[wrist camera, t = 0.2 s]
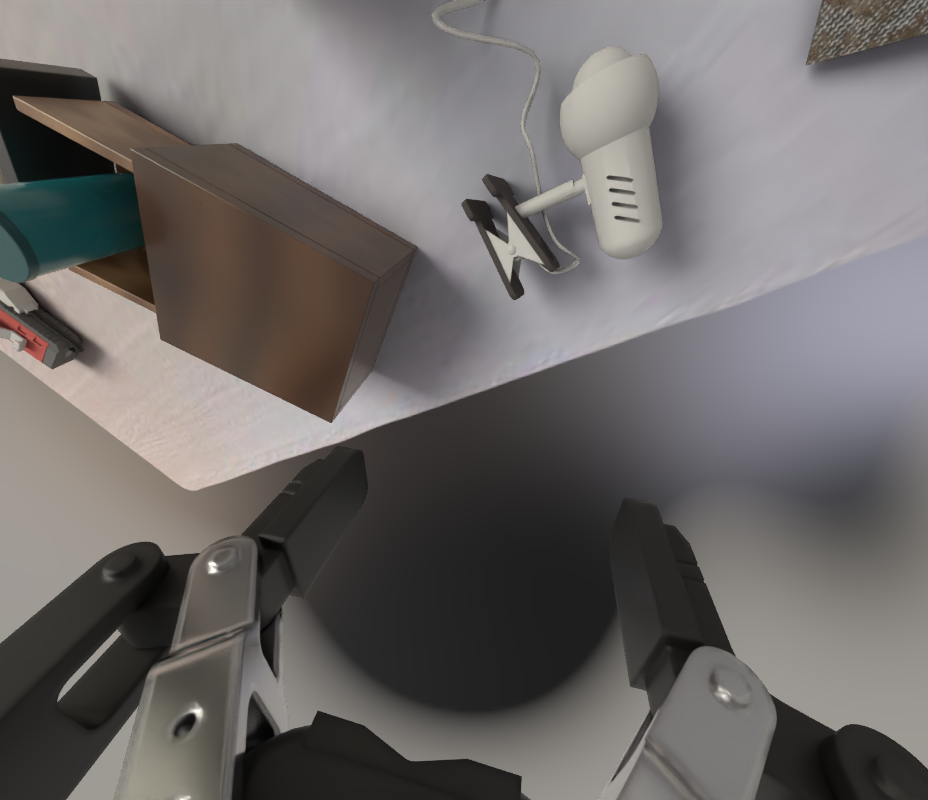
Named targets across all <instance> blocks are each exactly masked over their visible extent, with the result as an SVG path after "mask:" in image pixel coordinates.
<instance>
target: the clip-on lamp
mask: <svg viewBox="0 0 928 800" xmlns="http://www.w3.org/2000/svg"><path fill="white" fill-rule="evenodd" d="M483 1H485V0H456V1H452V2H449V3H445V4H443V5H441V6H439V7H436V8H435V10H434V12H433V13H432V18H433V21H434V23H435V25H436V26H437V27H439V28H440V29H441V30H443V31H444V32H446V33H449V34H451V35H454V36H456V37H459V38H463V39H468V40H473V41H477V42H483V43H489V44H495V45H500V46H505V47H509V48H514V49H517V50H519V51H522V52H524V53H527V54H529V55H530V56H531V58H532V59H533V60H534V61H535V63H536V72H537V73H536V77H535V82H534V85H533V88H532V90H531V93H530V96H529V98H528V101H527V103H526V106H525V108H524V111H523V115H522V119H521V130H522V135H523V137H524V139H525V141H526V143H527V146H528V148H529V151H530V155H531V159H532V164H533V170H534V177H535V183H536V189H537V193H538V196H536V197H534V198H532V199H530V200H528V201H526V202H523V203H521V204H518V203H517V202H516V200H515V199H514V197H513V196H514V193H513V192H512V190H511V188H510V187H509V185H508V184H507V182H506V181H505V180H504V179H501V178H498V177H495V176H492V175H489V174H487V175H486V176H485V177H484V178H483V179H482V180H483V182H484V184H485V185H486V187H487V189H488V190H489V192H490V193H491V195H492V196H494V197H497V199H498V200H499V201H500V203H501V204H502V206H503V207H504V209H505V210H506V211H507V217H508V233H509V237H508V236H507V235H505V234H504V233H502V232H500V231H499V230H497V229H496V227H495V225H494V223H493V221H492V218H493V214H492V212H491V210H490V208H489V206H488V204H487V203H486V202H485V201H479V200H471V199H466V200H465V201H464V202H462V203H461V204H462V207H463V209H464V211H465V213H466V215H467V217H468V218H469V219H470V221H475V223H476V225H477V227H478V230H479V232H480V234H481V236H482V238H483V240H484V242H485V245H486V247H487V249H488V251H489V253H490V255H491V257H492V259H493V262H494V264H495V266H496V268H497V270H498V272H499V274H500V276H501V279H502V281H503V283H504V285H505V287H506V289H507V291H508V293H509V295H510V297H511V298H512V299H513V300H516V299H518V298H520V297H521V296H522V295H524V289H523V286H522V284H521V282H520V280H519V272H520V265H521V259H523V258H527V259H530V260H533V261H535V262H536V263H537V264H538V265H539V266H540V267H541V268H542V269H543V270H545V271H546V272H548V273H551V274H560V273H564V272H567V271H569V270H571V269H573V268H575V267H576V266H577V265H578V264H579V263H580V259H579V257H578V256H577V255H575V254H574V253H572V252H571V251H569V250H568V249H566V248H565V247H563V246H562V245H561V244H560V243H559V242H558V240H557V239H556V237H555V236H554V234H553V231H552V229H551V226H550V224H549V221H548V218H547V214H546V211H545V209H547V208H549V207H551V206H554V205H556V204H558V203H561V202H563V201H565V200H567V199H571V198H573V197H575V196H577V195H580V194H582V193H584V192H585V193H586V197H587V202H588V205H591V209H592V214H593V218H594V223H595V227H596V231H597V236H598V240H599V245H600V248H601V249H602V250H603V251H604V252H605V253H606V254H608V255H609V256H611V257H614V258H617V259H630V258H634V257H636V256H639V255H641V254H642V253H644V252H645V251H647V250H648V249H649V248H650V247H651V246H652V245H653V244H654V243H655V241H656V240H657V238H658V236H659V235H660V232H661V230H662V226H663V222H662V215H661V208H660V201H659V194H658V187H657V179H656V172H655V165H654V158H653V151H652V144H651V137H650V129H649V127H650V125H651V122H652V120H653V118H654V115H655V112H656V109H657V104H658V98H659V82H658V77H657V73H656V71H655V68H654V66H653V64H652V61H651V60H650V58H649V57H648V56H647V55H642V54H640V55H636V56H631V55H630V54H629V53H628V52H627V51H626V50H624V49H622V48H618V47H607V48H604V49H601V50H599V51H597V52H596V53H594V54H593V55H592V56H590V57H589V58H588V59H587V60H586V62H585V63H584V64H583V65H582V67H581V69H580V70H579V72H578V74H577V76H576V78H575V81H574V85H573V90H572V92H571V93H570V94H569V95H568V96H567V97H566V98H565V99H564V101H563V102H562V104H561V110H560V129H561V135H562V138H563V141H564V143H565V145H566V147H567V149H568V150H569V151H570V153H571V154H572V155H573V156H574V157H576V158H577V159H579V160H580V161H581V165H582V170H583V175H581V176H582V179H580V180H577V181H575V182H574V181H573V180H571V181H568V182H566V183H564V184H562V185H560V186H558V187H556V188H553V189H551V190H549V191H547V192H545V193H543V194H541V189H540V183H539V176H538V170H537V163H536V157H535V153H534V149H533V146H532V144H531V141H530V139H529V137H528V135H527V132H526V130H525V122H526V118H527V115H528V112H529V109H530V107H531V104H532V101H533V99H534V96H535V93H536V90H537V87H538V84H539V79H540V74H541V69H540V60H539V59H538V57H537V56H536V54H535V53H534V51H533V50H531V49H529V48H527V47H525V46H523V45H521V44H519V43H515V42H511V41H508V40H504V39H500V38H494V37H489V36H484V35H479V34H474V33H470V32H465V31H461V30H458V29H456V28H453V27H450V26H448V25H446V24H445V23H444V22H442V21H441V20H440V17H441V16H442V15H443V14H446V13H449V12H452V11H456V10H461V9H465V8H468V7H471V6H475V5H478V4H480V3H482V2H483ZM540 211H542V214H543V217H544V220H545V223H546V226H547V229H548V232H549V234H550V236H551V238H552V240H553V242H554V243H555V245H556V246H557V247H558V248H559V249H561V250H562V251H564V252H565V253H567V254H569V255H571V256H573V257H574V258H575V261H574V263H572V264H571V265H569V266H568V267H565V268H563V269H559V270H556V269H557V268H559V267H560V265H559V262H558V261H557V259H556V257H555V256H554V254H553V253H552V252H551V250H550V249H549V247H548V246H547V244H546V243H545V242H544V240H543V239H542V237H541V236H540V234H539V233H538V232H537V230H536V229H535V227H534V226H533V224H532V223H531V222H530V220H529V219H528V217H529V216H531V215H533V214H536V213H538V212H540Z"/></svg>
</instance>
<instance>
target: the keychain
mask: <svg viewBox="0 0 928 800" xmlns="http://www.w3.org/2000/svg"><path fill="white" fill-rule="evenodd" d="M927 33H928V0H823V1H822V4H821V8H820V12H819V16H818V20H817V24H816V28H815V31H814V35H813V39H812V43H811V47H810V51H809V55H808V58H807V62H806V65H810V64H813V63H817V62H821V61H825V60H829V59H832V58H836V57H840V56H844V55H848V54H851V53H855V52H859V51H863V50H867V49H870V48H874V47H878V46H882V45H886V44H889V43H893V42H897V41H901V40H904V39H908V38H912V37H916V36H920V35H923V34H927Z"/></svg>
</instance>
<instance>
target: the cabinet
mask: <svg viewBox="0 0 928 800" xmlns="http://www.w3.org/2000/svg"><path fill="white" fill-rule="evenodd" d="M130 154H131V161H132V167H133V173H134V179H135V185H136V191H137V198H138V204H139V210H140V216H141V222H142V228H143V234H144V241H145V247H146V253H147V259H148V265H149V271H150V277H151V284H152V290H153V296H154V302H155V308H156V314H157V321H158V327H159V333H160V339H161V340H163V341H165V342H167V343H169V344H171V345H173V346H175V347H177V348H179V349H181V350H183V351H185V352H187V353H189V354H191V355H193V356H195V357H197V358H199V359H201V360H203V361H205V362H207V363H209V364H212V365H214V366H216V367H218V368H220V369H222V370H224V371H226V372H228V373H230V374H232V375H234V376H236V377H238V378H240V379H242V380H244V381H246V382H248V383H250V384H252V385H254V386H256V387H258V388H260V389H263V390H265V391H267V392H269V393H271V394H273V395H275V396H277V397H279V398H281V399H283V400H285V401H287V402H289V403H291V404H293V405H295V406H297V407H299V408H301V409H303V410H305V411H307V412H309V413H311V414H314V415H316V416H318V417H320V418H322V419H324V420H326V421H328V422H330V423H332V422H333V420H334V419H335V418H336V416H337V415H338V414H339V413H340V411H341V410H342V409H343V407H344V406H345V405H346V404H347V402H348V401H349V400H350V398H351V397H352V396H353V395H354V393H355V392H356V391H357V389H358V388H359V387H360V386H361V384H362V383H363V382H364V380H365V379H366V378H367V377H368V375H369V374H370V373H371V371H372V369H373V366H374V363H375V361H376V358H377V355H378V353H379V350H380V347H381V344H382V342H383V339H384V336H385V334H386V331H387V328H388V325H389V323H390V320H391V317H392V315H393V312H394V309H395V306H396V304H397V301H398V298H399V295H400V293H401V290H402V287H403V285H404V282H405V279H406V276H407V274H408V271H409V268H410V266H411V263H412V260H413V257H414V255H415V252H416V249H417V247H416V246H415V245H413V244H411V243H409V242H408V241H406V240H404V239H402V238H401V237H399V236H397V235H395V234H394V233H392V232H390V231H388V230H387V229H385V228H383V227H382V226H380V225H378V224H376V223H375V222H373V221H371V220H369V219H368V218H366V217H364V216H362V215H361V214H359V213H357V212H355V211H354V210H352V209H350V208H348V207H347V206H345V205H343V204H341V203H340V202H338V201H336V200H334V199H333V198H331V197H329V196H328V195H326V194H324V193H322V192H321V191H319V190H317V189H315V188H314V187H312V186H310V185H308V184H307V183H305V182H303V181H301V180H300V179H298V178H296V177H294V176H293V175H291V174H289V173H287V172H286V171H284V170H282V169H280V168H279V167H277V166H275V165H273V164H272V163H270V162H268V161H267V160H265V159H263V158H261V157H260V156H258V155H256V154H254V153H253V152H251V151H249V150H247V149H246V148H244V147H242V146H240V145H239V144H237V143H235V144H214V145H190V146H166V147H145V148H143V147H137V148H130Z"/></svg>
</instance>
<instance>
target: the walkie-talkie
mask: <svg viewBox="0 0 928 800" xmlns="http://www.w3.org/2000/svg"><path fill="white" fill-rule="evenodd" d="M0 337H1V338H5V339H9V340H10V341H11V342H13V348H14V349H15V350H16V351H22V350H24V351H26V352H27V353H29V354H30V355H32V356H33V357H35V358H36V359H37V360H39V361H40V362H42V363H43V364H45V365H46V366H48V367H50V368H51V369H54V368H56V367H58V366H60V365H63V364H65V363H67V362H69V361H71V360H73V359H74V357H75V355H76V353H77V354H78V353H80V352H82V351H83V350H84V349H83V347H82V346H81V345H80V343H81V340H80V339H79V337H78V336H77V335H76V334H75V333H74V332H73V331H71V330H70V329H69V328H67V327H66V326H65V325H63V324H62V323H60V322H59V321H58V320H56V319H55V318H54V317H52V316H51V315H50V314H48V313H47V312H46V311H44V310H43V309H42V308H40V307H39V306H38V304H37V302H36V301H35V300H34V299H33V298H32V296H31V295H30V294H29V293H28V291H27V290H26V289H25V288H24V287H23V286H21V285H20V284H19V283H17V282H11V281H8V280H5V279H3V278H1V277H0Z"/></svg>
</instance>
